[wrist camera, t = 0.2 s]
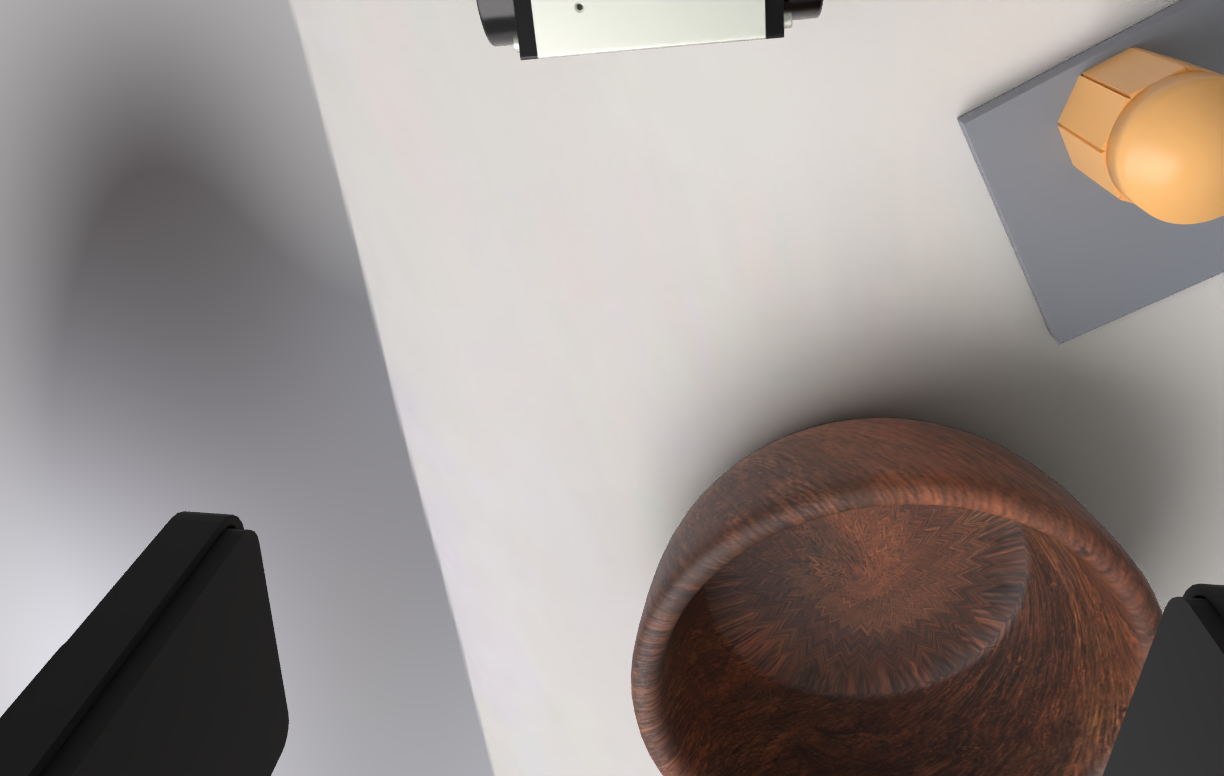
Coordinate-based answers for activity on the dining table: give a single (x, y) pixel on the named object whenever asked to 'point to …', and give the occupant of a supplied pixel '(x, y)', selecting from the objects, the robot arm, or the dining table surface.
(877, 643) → the wooden bowl
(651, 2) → the pneumatic valve
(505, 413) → the dining table surface
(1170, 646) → the robot arm
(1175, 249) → the board
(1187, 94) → the orange dome-topped faceted piece
